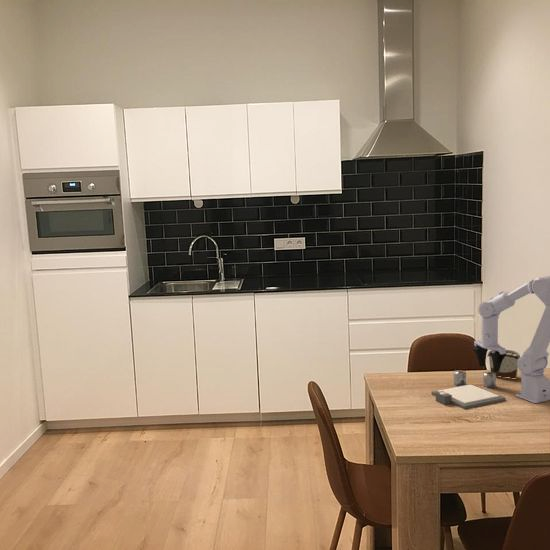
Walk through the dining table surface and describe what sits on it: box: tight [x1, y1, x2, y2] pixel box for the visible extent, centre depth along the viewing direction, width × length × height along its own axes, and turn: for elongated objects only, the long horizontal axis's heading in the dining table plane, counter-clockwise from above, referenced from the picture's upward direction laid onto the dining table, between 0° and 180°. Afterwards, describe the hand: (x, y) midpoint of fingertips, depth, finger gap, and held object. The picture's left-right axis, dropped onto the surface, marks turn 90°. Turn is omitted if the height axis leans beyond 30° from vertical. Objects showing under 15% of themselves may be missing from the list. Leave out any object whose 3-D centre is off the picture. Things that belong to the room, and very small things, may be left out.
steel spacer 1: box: [453, 369, 467, 387], centre depth 237 cm, size 4×4×5 cm
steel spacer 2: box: [482, 371, 497, 389], centre depth 234 cm, size 4×4×5 cm
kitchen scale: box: [431, 383, 507, 410], centre depth 222 cm, size 18×21×3 cm
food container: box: [486, 349, 521, 379], centre depth 245 cm, size 12×6×10 cm, turn 58°
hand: (489, 368), depth 234 cm, fingers open, 7 cm apart
